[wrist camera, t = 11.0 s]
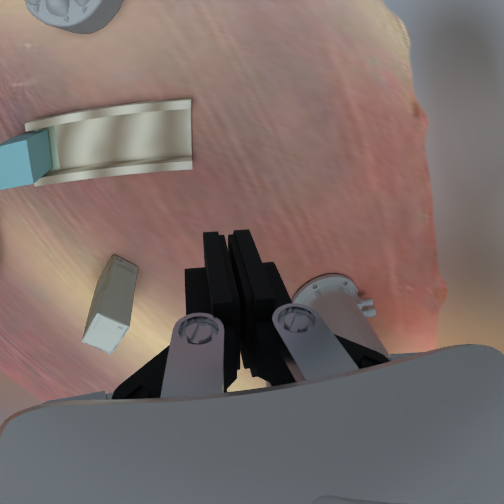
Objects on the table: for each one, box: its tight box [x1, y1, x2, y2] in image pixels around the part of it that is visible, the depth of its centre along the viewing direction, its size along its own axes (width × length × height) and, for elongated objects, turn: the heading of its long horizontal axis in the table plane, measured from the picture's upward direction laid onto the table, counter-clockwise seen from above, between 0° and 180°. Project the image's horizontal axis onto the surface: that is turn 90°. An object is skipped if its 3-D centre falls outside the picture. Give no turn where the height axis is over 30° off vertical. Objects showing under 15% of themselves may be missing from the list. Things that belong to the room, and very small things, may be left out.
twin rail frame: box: [25, 98, 192, 187], centre depth 33 cm, size 20×8×3 cm, turn 88°
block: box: [0, 129, 53, 190], centre depth 29 cm, size 5×5×6 cm
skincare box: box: [82, 255, 138, 354], centre depth 39 cm, size 6×4×12 cm
